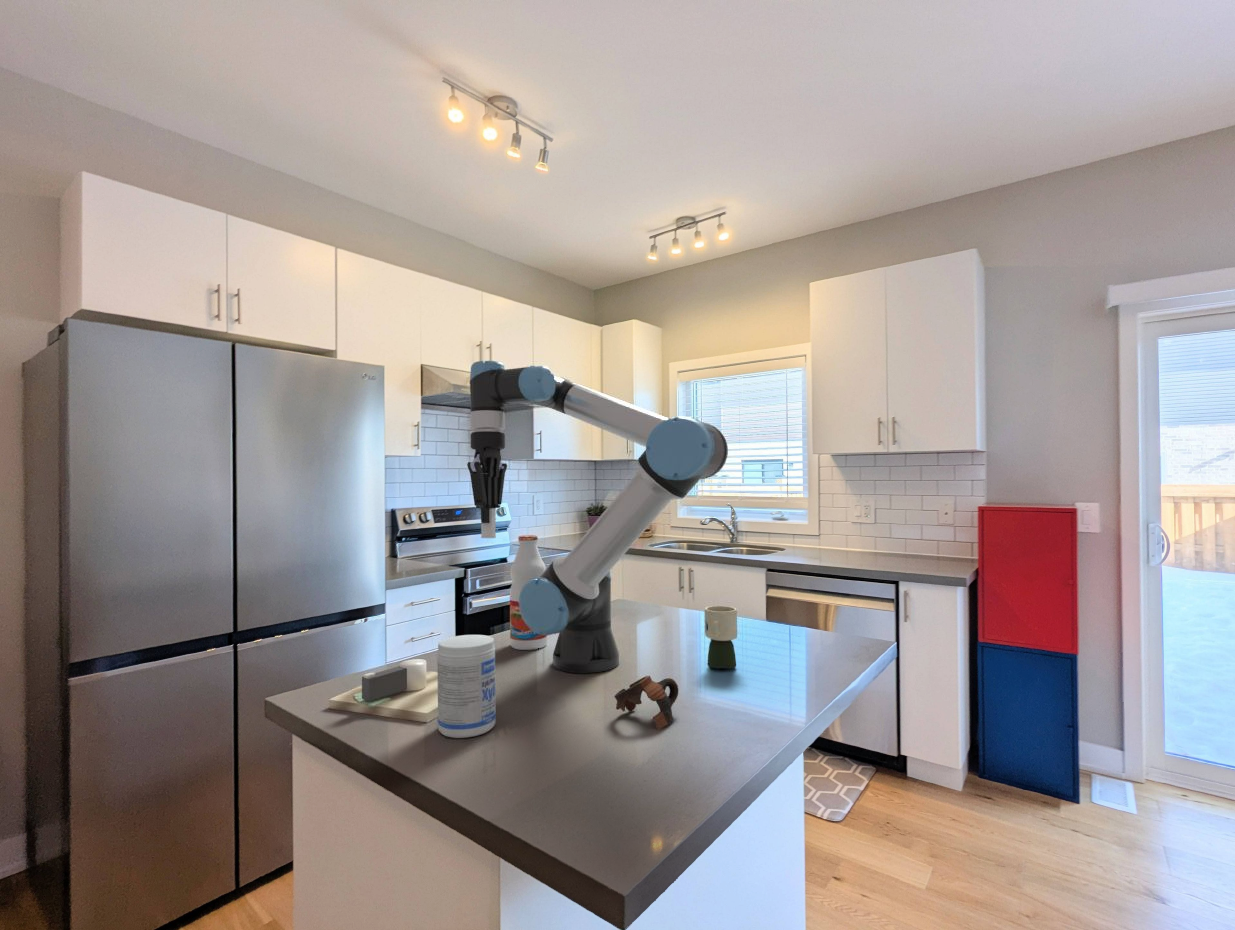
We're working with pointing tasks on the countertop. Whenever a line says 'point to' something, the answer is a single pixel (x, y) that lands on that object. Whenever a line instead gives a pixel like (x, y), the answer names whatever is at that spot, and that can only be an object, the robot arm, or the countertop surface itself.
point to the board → (396, 702)
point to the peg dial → (394, 680)
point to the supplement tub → (466, 685)
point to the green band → (372, 703)
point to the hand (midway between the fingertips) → (488, 537)
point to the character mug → (721, 635)
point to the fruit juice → (521, 572)
